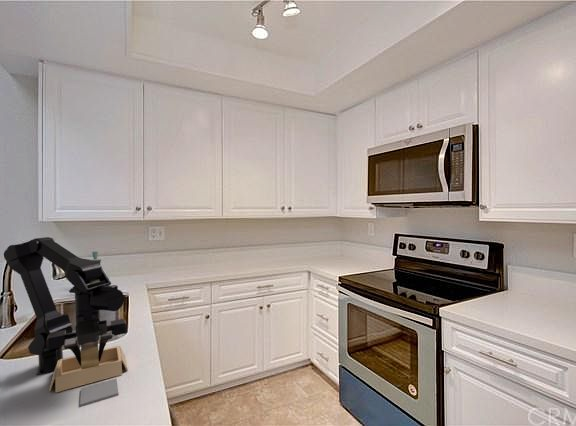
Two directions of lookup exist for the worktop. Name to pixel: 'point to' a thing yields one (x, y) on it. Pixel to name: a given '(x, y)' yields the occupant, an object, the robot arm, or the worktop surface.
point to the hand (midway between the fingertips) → (90, 362)
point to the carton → (88, 370)
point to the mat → (98, 392)
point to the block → (89, 355)
